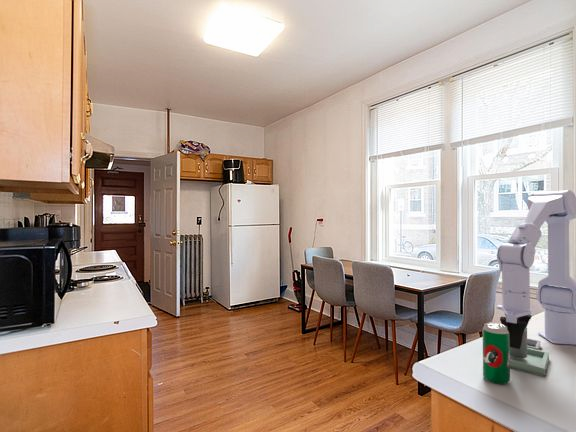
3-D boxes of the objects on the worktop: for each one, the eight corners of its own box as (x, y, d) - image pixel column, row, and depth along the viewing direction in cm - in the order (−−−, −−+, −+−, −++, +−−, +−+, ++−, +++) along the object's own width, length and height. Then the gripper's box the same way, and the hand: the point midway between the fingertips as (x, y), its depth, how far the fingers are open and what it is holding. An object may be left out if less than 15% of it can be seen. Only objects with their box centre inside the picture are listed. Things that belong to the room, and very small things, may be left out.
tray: (493, 346, 90) (493, 340, 90) (548, 359, 82) (548, 352, 82) (483, 361, 81) (483, 353, 81) (544, 376, 73) (544, 368, 73)
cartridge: (521, 351, 83) (521, 324, 83) (530, 358, 79) (530, 330, 79) (502, 350, 84) (502, 323, 84) (510, 357, 80) (510, 328, 80)
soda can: (514, 386, 69) (513, 330, 69) (488, 384, 70) (487, 328, 70) (503, 375, 74) (503, 322, 74) (479, 373, 75) (478, 321, 75)
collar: (511, 340, 95) (511, 335, 95) (540, 346, 90) (540, 341, 90) (507, 347, 90) (507, 341, 90) (537, 354, 85) (537, 348, 85)
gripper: (502, 284, 90) (502, 333, 89) (491, 293, 79) (491, 349, 79) (534, 287, 85) (534, 339, 85) (526, 298, 74) (527, 357, 74)
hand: (516, 344), depth 81 cm, fingers closed on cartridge, 4 cm apart
